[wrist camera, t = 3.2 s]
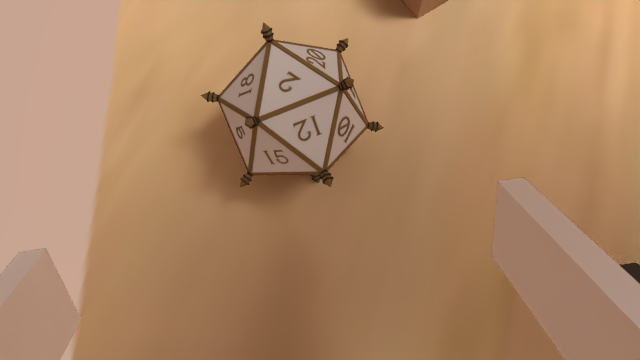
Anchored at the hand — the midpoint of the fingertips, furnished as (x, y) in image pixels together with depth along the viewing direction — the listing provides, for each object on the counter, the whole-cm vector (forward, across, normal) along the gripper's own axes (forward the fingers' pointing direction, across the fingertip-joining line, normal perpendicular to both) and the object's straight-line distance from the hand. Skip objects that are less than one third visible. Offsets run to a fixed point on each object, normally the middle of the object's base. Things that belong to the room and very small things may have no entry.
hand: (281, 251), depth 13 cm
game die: (+15, +1, -3) cm, 16 cm away
